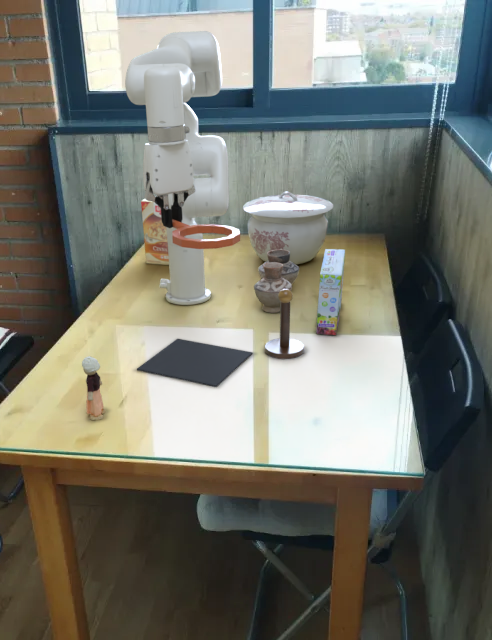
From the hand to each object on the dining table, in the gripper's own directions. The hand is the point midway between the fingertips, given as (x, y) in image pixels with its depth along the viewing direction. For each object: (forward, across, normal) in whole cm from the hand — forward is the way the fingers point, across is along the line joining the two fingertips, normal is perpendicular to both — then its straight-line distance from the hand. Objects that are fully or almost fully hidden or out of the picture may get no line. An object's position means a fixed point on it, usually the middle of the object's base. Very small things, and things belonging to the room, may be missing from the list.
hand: (172, 225), depth 150 cm
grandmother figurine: (+29, +31, +19) cm, 46 cm away
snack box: (+28, -38, +9) cm, 49 cm away
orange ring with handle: (0, 0, +9) cm, 9 cm away
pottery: (+28, -37, -10) cm, 47 cm away
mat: (+28, +2, +10) cm, 30 cm away
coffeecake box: (+28, -31, -57) cm, 71 cm away
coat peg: (+28, -18, +18) cm, 38 cm away
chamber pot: (+28, -61, -36) cm, 76 cm away
